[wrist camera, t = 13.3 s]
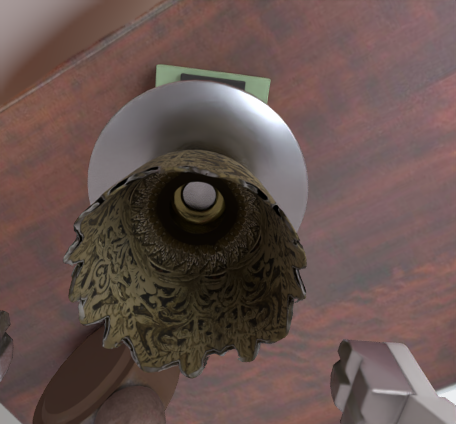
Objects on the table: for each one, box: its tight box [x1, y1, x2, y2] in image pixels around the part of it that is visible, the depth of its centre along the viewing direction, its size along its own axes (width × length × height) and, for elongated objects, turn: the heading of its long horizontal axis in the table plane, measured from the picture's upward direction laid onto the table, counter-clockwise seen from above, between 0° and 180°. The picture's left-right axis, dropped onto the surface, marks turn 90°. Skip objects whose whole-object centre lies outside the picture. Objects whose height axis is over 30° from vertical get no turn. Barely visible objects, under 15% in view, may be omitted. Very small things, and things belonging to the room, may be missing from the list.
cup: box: [63, 150, 307, 378], centre depth 15 cm, size 8×7×8 cm
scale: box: [155, 64, 271, 104], centre depth 29 cm, size 10×10×18 cm
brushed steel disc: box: [88, 80, 308, 233], centre depth 20 cm, size 11×11×2 cm
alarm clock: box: [33, 325, 180, 424], centre depth 37 cm, size 15×7×20 cm, turn 124°
